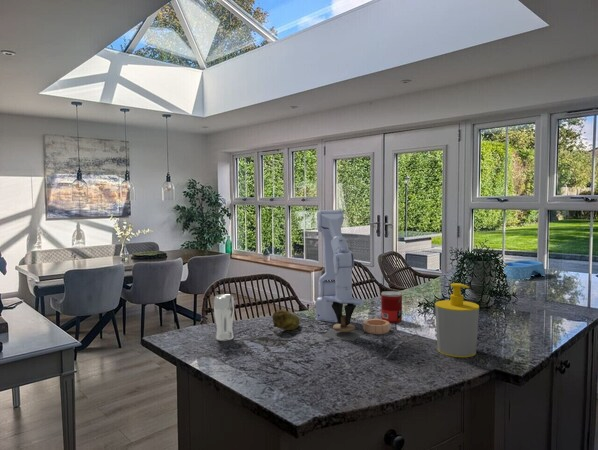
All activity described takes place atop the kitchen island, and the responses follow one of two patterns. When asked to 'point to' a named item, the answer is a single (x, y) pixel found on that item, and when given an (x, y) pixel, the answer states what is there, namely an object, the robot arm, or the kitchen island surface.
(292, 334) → the kitchen island surface
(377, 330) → the tan round bowl
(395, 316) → the canned food
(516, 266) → the dog bowl
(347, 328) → the lid
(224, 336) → the beer glass
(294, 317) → the potato
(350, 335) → the mat
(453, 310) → the soap bottle
